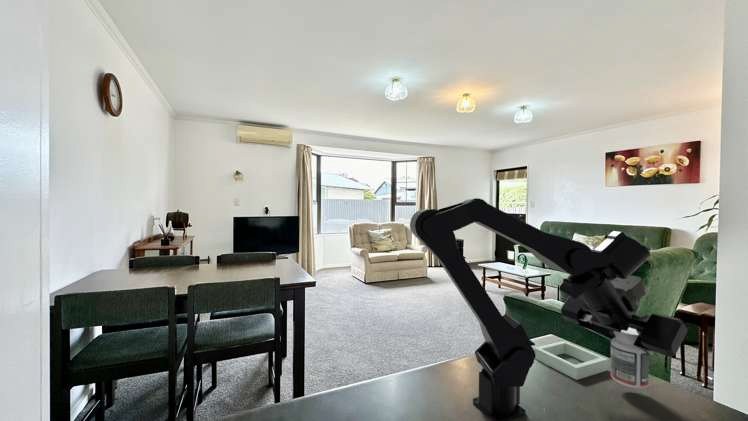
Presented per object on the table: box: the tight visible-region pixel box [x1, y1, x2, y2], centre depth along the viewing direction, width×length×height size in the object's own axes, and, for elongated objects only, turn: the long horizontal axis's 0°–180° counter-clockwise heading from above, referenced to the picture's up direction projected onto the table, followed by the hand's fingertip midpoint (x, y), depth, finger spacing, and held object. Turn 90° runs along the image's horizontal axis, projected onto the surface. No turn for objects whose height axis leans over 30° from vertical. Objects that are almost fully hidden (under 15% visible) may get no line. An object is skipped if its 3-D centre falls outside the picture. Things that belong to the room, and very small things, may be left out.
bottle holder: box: [533, 340, 609, 381], centre depth 72 cm, size 10×10×2 cm
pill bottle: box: [609, 328, 650, 389], centre depth 61 cm, size 6×6×10 cm
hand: (633, 345), depth 61 cm, fingers closed on pill bottle, 6 cm apart
